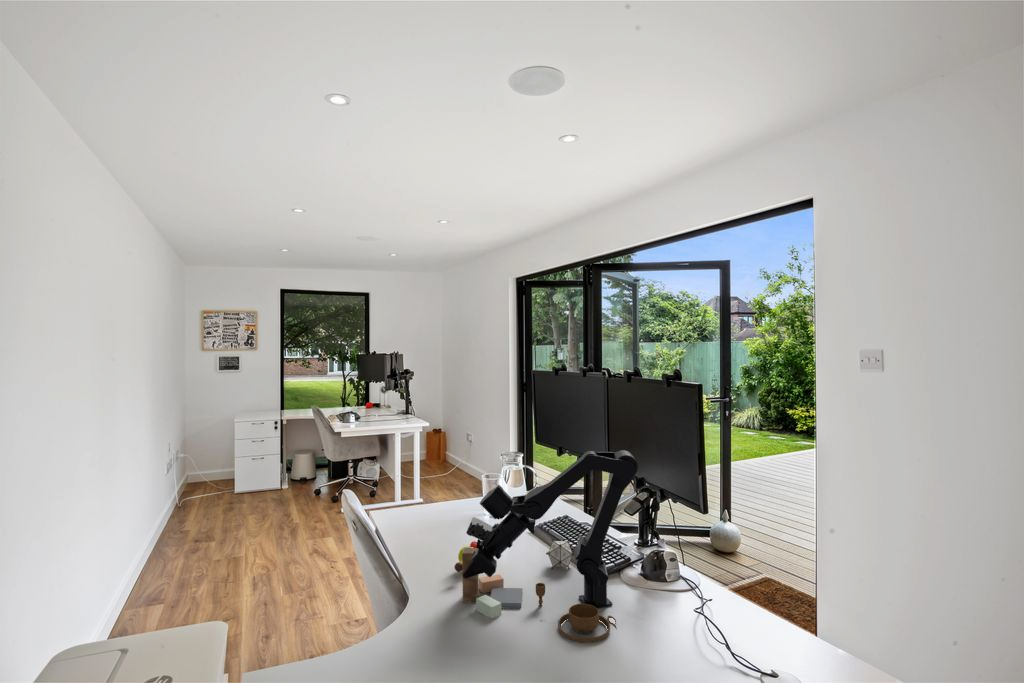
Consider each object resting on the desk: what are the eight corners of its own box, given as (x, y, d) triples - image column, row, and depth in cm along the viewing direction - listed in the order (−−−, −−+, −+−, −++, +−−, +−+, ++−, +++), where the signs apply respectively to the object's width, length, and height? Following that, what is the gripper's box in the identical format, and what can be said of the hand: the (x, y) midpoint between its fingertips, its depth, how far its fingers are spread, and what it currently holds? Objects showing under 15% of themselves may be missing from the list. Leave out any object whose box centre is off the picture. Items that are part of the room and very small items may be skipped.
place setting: (553, 650, 120) (553, 623, 120) (531, 606, 140) (531, 583, 140) (629, 641, 124) (629, 614, 124) (597, 599, 143) (597, 576, 143)
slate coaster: (522, 592, 146) (522, 588, 146) (521, 607, 138) (521, 603, 138) (492, 592, 146) (492, 587, 146) (489, 607, 138) (489, 602, 138)
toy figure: (468, 585, 151) (468, 560, 151) (449, 583, 152) (448, 558, 152) (485, 558, 168) (484, 536, 168) (467, 557, 169) (467, 535, 169)
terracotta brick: (499, 585, 151) (499, 574, 151) (503, 589, 148) (503, 578, 148) (478, 589, 149) (478, 578, 149) (482, 594, 146) (482, 582, 146)
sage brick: (501, 615, 135) (501, 603, 135) (492, 619, 133) (491, 607, 133) (485, 606, 139) (485, 594, 139) (476, 610, 137) (476, 598, 137)
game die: (564, 577, 163) (582, 547, 166) (564, 579, 155) (583, 547, 158) (539, 559, 166) (556, 530, 168) (537, 560, 158) (556, 529, 160)
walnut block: (478, 595, 144) (478, 548, 144) (476, 602, 141) (476, 553, 141) (464, 595, 145) (464, 547, 145) (462, 602, 141) (462, 553, 141)
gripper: (489, 498, 152) (449, 537, 152) (481, 521, 133) (435, 566, 134) (518, 527, 151) (478, 566, 152) (514, 554, 133) (468, 599, 133)
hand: (465, 573), depth 143 cm, fingers open, 4 cm apart
